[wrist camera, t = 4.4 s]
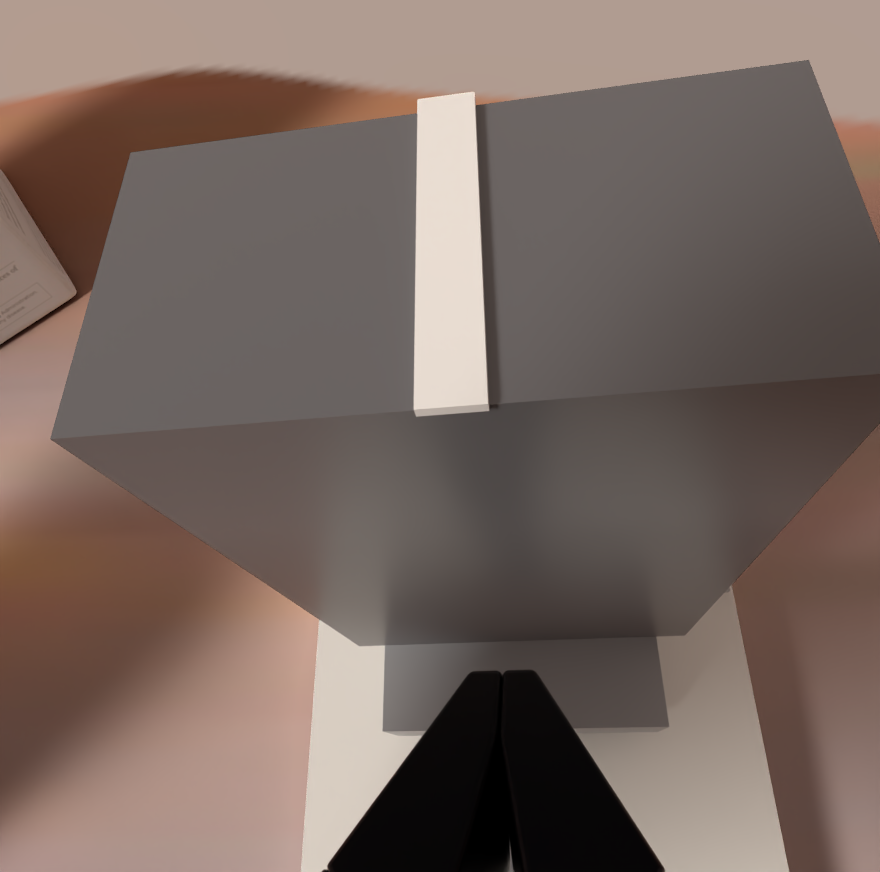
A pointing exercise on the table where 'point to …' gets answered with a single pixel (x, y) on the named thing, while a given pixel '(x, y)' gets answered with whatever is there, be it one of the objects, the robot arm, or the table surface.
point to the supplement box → (26, 268)
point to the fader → (493, 368)
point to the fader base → (617, 754)
